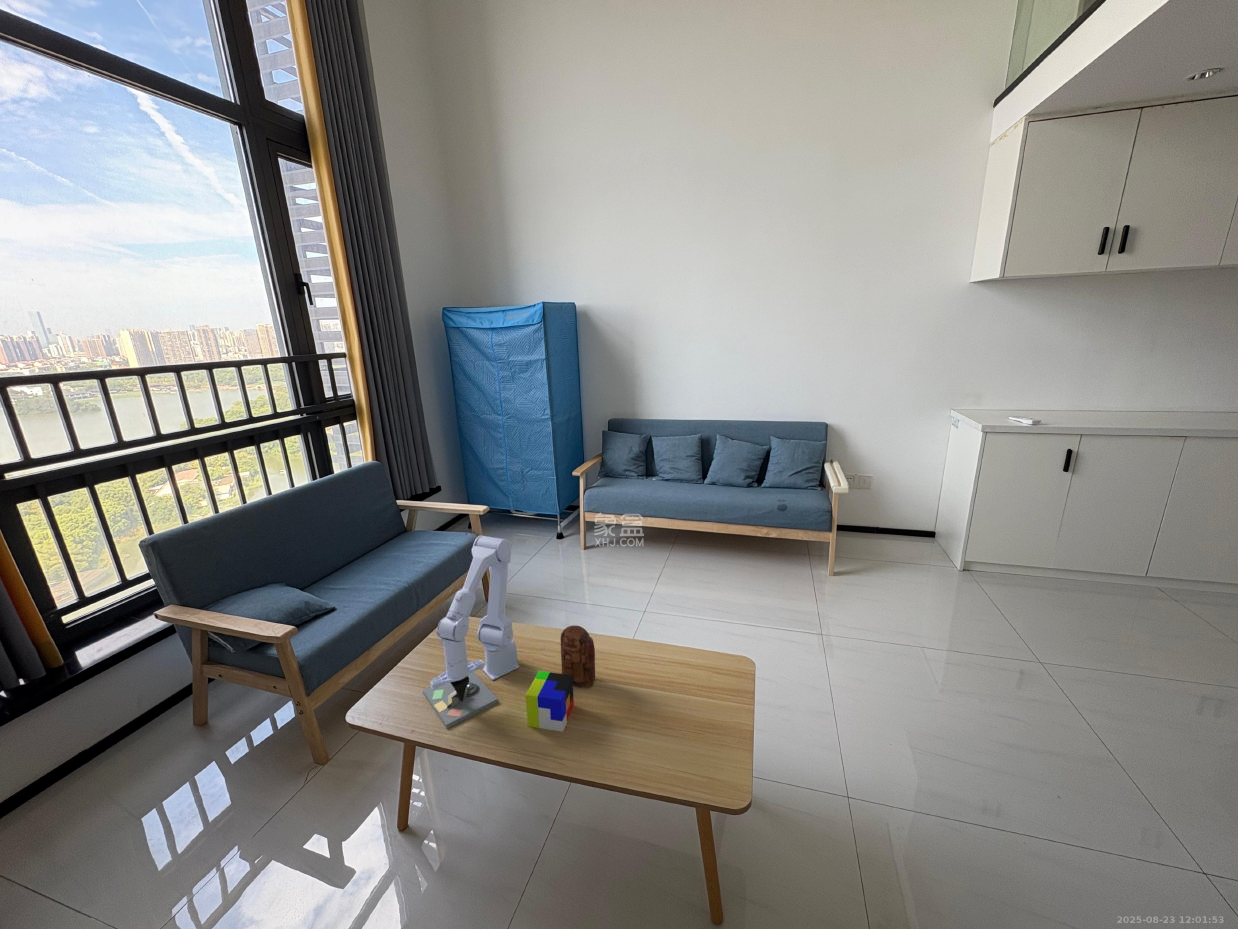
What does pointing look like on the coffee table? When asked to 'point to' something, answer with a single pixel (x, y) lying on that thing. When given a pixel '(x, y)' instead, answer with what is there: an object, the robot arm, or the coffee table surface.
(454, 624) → the robot arm
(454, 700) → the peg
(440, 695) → the tuner board
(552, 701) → the puzzle toy
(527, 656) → the coffee table surface
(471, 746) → the coffee table surface
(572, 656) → the wooden figurine
